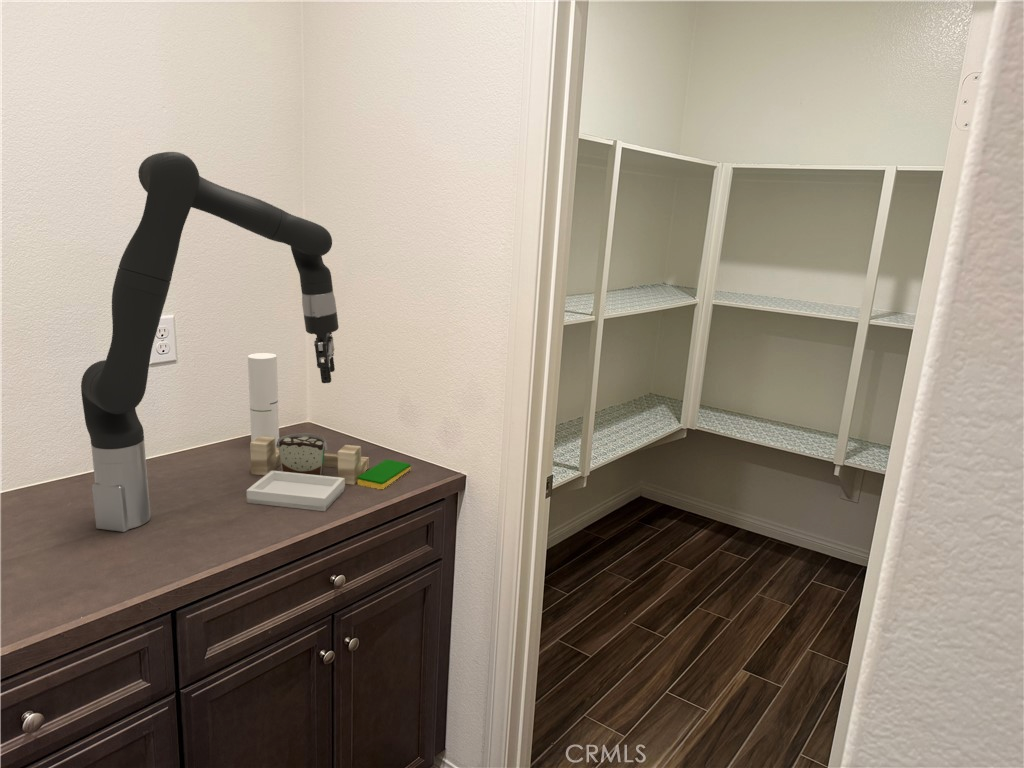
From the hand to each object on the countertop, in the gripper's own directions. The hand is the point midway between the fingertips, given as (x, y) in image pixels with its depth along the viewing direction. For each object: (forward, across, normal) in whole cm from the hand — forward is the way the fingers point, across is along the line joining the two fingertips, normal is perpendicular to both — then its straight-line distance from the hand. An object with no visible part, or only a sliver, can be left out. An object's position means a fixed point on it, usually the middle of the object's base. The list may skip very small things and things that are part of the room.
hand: (328, 377), depth 167 cm
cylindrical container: (+24, -18, -21) cm, 37 cm away
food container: (+24, +4, -8) cm, 25 cm away
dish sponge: (+26, +6, +11) cm, 29 cm away
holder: (+24, +1, -7) cm, 25 cm away
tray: (+23, +16, -8) cm, 29 cm away
